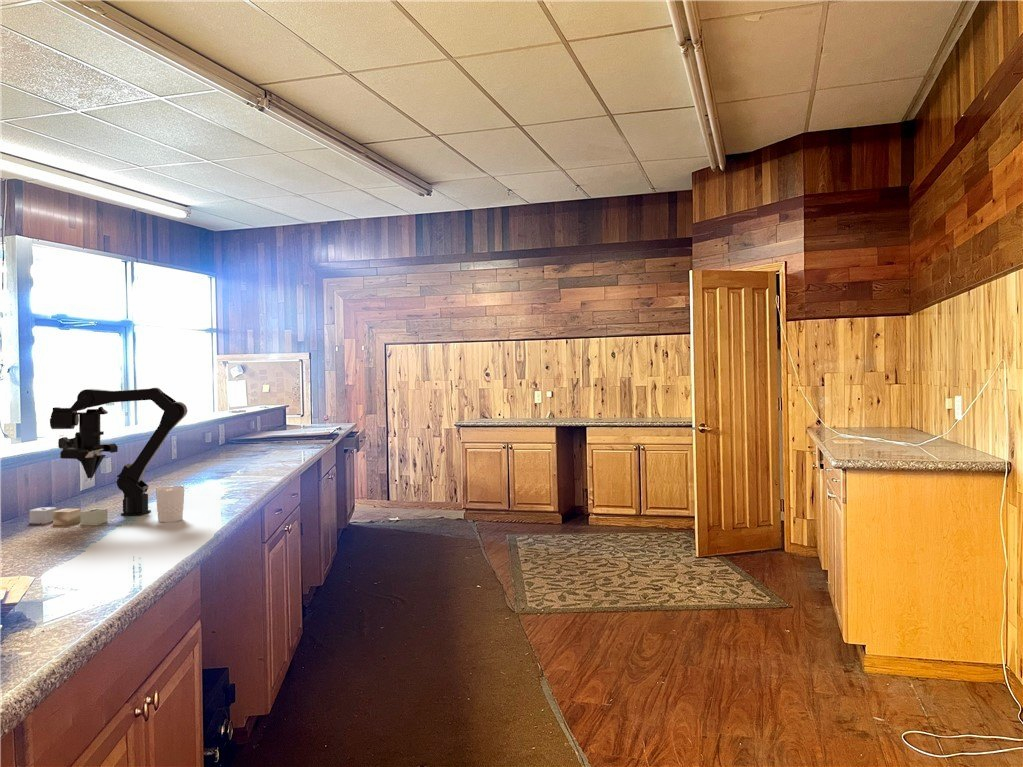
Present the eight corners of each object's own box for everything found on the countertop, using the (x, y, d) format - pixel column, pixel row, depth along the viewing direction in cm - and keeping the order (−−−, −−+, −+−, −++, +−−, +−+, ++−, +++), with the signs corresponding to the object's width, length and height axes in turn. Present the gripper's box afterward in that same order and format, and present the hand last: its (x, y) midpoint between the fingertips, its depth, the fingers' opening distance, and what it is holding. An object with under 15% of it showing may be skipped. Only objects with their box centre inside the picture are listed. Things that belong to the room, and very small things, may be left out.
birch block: (80, 521, 213) (80, 508, 213) (68, 525, 208) (68, 512, 208) (65, 521, 213) (65, 508, 213) (53, 524, 208) (52, 511, 208)
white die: (57, 520, 214) (57, 507, 214) (45, 524, 209) (45, 510, 209) (42, 520, 215) (42, 506, 215) (29, 523, 210) (29, 510, 210)
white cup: (150, 521, 214) (150, 488, 214) (173, 516, 221) (173, 484, 221) (167, 523, 210) (167, 491, 210) (190, 519, 217) (190, 487, 217)
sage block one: (107, 521, 213) (107, 508, 213) (96, 525, 208) (96, 511, 208) (91, 521, 213) (91, 508, 213) (80, 525, 208) (80, 511, 208)
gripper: (86, 425, 230) (87, 473, 230) (43, 430, 211) (43, 482, 212) (118, 426, 229) (118, 473, 229) (77, 431, 210) (77, 483, 211)
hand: (90, 478), depth 220 cm, fingers closed
